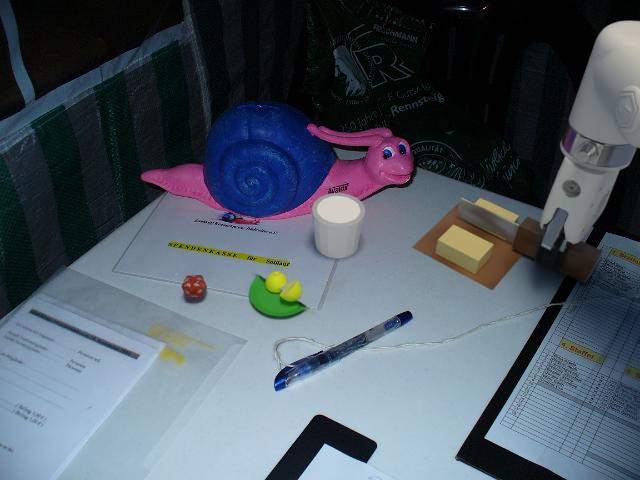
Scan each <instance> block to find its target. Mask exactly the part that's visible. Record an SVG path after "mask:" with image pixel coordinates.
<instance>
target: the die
mask: <svg viewBox="0 0 640 480" xmlns="http://www.w3.org/2000/svg"><path fill="white" fill-rule="evenodd" d="M180 288H181V289H182V291H183V294H184V296H185V297H186V299H187V300H192V299H202V298H203V297H204V295H205V293H206V291H207V289H208V285H207V283H206V281H205V279H204V277H203V275H202V274H193V275H186V276H185V278H184V280H183V282H182V284H181V286H180Z"/></svg>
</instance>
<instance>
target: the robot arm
mask: <svg viewBox="0 0 640 480" xmlns="http://www.w3.org/2000/svg"><path fill="white" fill-rule="evenodd" d="M584 70H585V71H584V74H583V76H582V78H581V82H580V85H579V88H578V90H577V93H576V97H575V100H574V101H573V105H572V108H571V111H570V114H569V116H568V120H567V122H566V125H565V129H564V131H563V134H562V137H561V140H560V142H559V148H560V150H561V153H562V154H563V155H564V158H563V160H562V162H561V165H560V167H559V170H557V173H556V176H555V179H554V181H553V184H552V187H551V189H550V190H549V191H550V192H549V194H548V197H547V198H546V202H545V205H544V208H543V211H542V213H541V217H540V220H539V222H540V227H541V229H542V230H543V229H545V228H546V227H547V226H548V228H547V230H546V233H545V235H544V238H543V240H542V242H541V245H540V248H539V250H538V253H537V256H536V259H534V263H535V264H536V265H539V266H540V267H543V268H544V269H545V270H548V271H551V272H553V273H554V274H558V273H559V272H561V271H560V269H561V266H562V264H563V262H564V259H565V257H566V254H567V252H568V250H569V249H567V245H568V243H569V242H571V243H572V244H575V243H578V242H580V241H582V240H583V238H584V237H585V236H586V235H587V234H588V233H589V231H590V230H591V228H592V227H593V225H595V223H596V222H597V221H598V219H599V218H600V216H601V215H602V214H603V212H604V210H605V208H606V207H607V204H608V201H609V199H610V196H611V194H612V191H613V189H614V185H615V184H616V181H617V178H618V176H619V174H620V171H621V170H623V169H625V168H627V167H628V166H630V164H631V162H632V160H633V158H634V156H635V153H636V152H637V150H638V149H640V20H620V21H616V22H613V23H610V24H608V25H607V26H606V27H604V28H603V29H602V30H601V31H600V32H599V33H598V36H597V37H596V39H595V42H594V45H593V48H592V51H591V53H590V56H589V59H588V62H587V65H586V68H585V69H584ZM560 234H561V235H563V236H565V237H564V239H563V241H562V239H560V238H558V237H559V235H560Z"/></svg>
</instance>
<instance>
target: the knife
mask: <svg viewBox="0 0 640 480" xmlns="http://www.w3.org/2000/svg"><path fill="white" fill-rule="evenodd" d="M464 198H465V197H463V196H462V197H460V199H459V202H458V203H459V207H458V211H457V215H458V216H460V217H462V218H464V219H466V220H468V221H470V222H472V223H474V224H476V225H478V226H481V227H483V228H485V229H487V230H489V231H491V232H493V233H495V234H497V235H499V236H501V237H503V238H505V239H507V240H509V241H511V242H513V246H512V248H514V249H516V250H518V251H520V252H522V253H524V254H523V255H527V256H528V257H531V258H532V259H534V260H535V259H536V256H537V253H538V250H539V248H540V245H541V242H542V240H543V238H544V235H545V233H546V230H547V228H548V226H547V227H546V228H545V229H543V230H542V229H541V227H540V220H539V221H538V220H537V219H535V218H532V217H530V216H526V217H525V218H524V219H523V220H522V222H520V223H519V224H520V225H519V224H517V223H518V222H517V223H515V222H513V221H511V220H508V219H506V218H504V217H502V216H500V215H498V214H496V213H494V212H492V211H489V210H487V209H485V208H483V207H481V206H479V205H477V204H475V203H476V202H474V203H472V202H473V201H472V202H470V201H471V200H470V201H468V200H469V199H468V200H466V199H467V198H466V199H464ZM564 237H565V236H563V235H561V234H560V235H559V237H558V238H560V239H562V241H563V239H564ZM567 249H569V250H568V252H567V254H566V257H565V259H564V262H563V264H562V266H561V269H560V271H559V272H560V273H562V274H565V275H566V276H569V277H571V278H573V279H575V280H577V281H579V282H582V283H583V284H586V283H587V281H588V280H589V279H590V277H591V276H592V274H593V273H594V270H595V269H596V266H597V264H598V262H599V260H600V258H601V255H602V253H603V250H602V249H600V248H597V247H596V246H593V245H591V244H588V243H587V242H584V241H582V240H581V241H580V242H578V243H575V244H572V243H571V242H569V243H568V245H567Z"/></svg>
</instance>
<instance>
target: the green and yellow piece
mask: <svg viewBox="0 0 640 480" xmlns="http://www.w3.org/2000/svg"><path fill="white" fill-rule="evenodd" d="M283 287H284V288H283ZM282 288H283V289H282ZM248 289H249V290H248V291H249V292H248V295H249V296H248V297H249V300H250V302H251V304H252V305H253V306H254V307H255V308H256V309H257V310H258V311H260V312H262V313H263V314H266V315H269V316H274V317H287V316H292V315H294V314H297V313H299V312H302V311H303V310H304V309H305V308H307V307H308V306H307V305H306V304H304V303H303V302H301V301H300V300H299V299H300V298H301V296H302V293H303V290H302V289H303V288H302V285H301V283H300V282H299V280H298V279H295V280H292V281H291V282H289V283H288V278H287V276H286V274H284V272H281V271H279V270H278V271H277V270H276V271H272V272H270V273H269V274H268V275H267V277H266V278H265V277H263V276H261V275H260V274H259V275H257V276H256V277H255V278H254V279H253V281H252V282H251V284H250V285H249V288H248Z"/></svg>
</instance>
